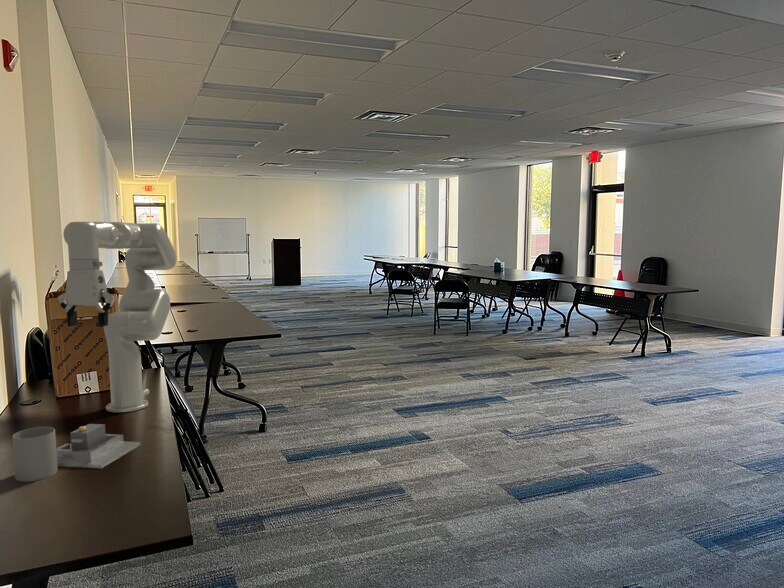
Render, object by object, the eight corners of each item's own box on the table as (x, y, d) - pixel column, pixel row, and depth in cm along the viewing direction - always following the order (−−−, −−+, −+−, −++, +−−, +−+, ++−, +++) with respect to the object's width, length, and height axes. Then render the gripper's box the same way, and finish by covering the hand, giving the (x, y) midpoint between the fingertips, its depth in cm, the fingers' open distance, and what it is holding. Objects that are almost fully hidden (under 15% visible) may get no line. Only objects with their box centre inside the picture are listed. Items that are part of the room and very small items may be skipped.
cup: (65, 469, 136) (63, 428, 135) (34, 483, 129) (31, 440, 128) (39, 465, 139) (36, 425, 138) (6, 478, 131) (3, 436, 130)
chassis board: (79, 442, 155) (78, 430, 155) (140, 445, 152) (139, 433, 152) (34, 464, 139) (33, 452, 139) (101, 468, 137) (100, 455, 136)
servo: (93, 444, 151) (91, 418, 150) (108, 445, 150) (107, 419, 149) (68, 457, 142) (67, 430, 141) (85, 458, 141) (83, 430, 140)
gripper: (120, 265, 164) (123, 324, 165) (66, 265, 166) (69, 323, 168) (103, 266, 156) (107, 328, 158) (47, 266, 159) (51, 327, 160)
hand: (87, 325), depth 163 cm, fingers open, 9 cm apart
